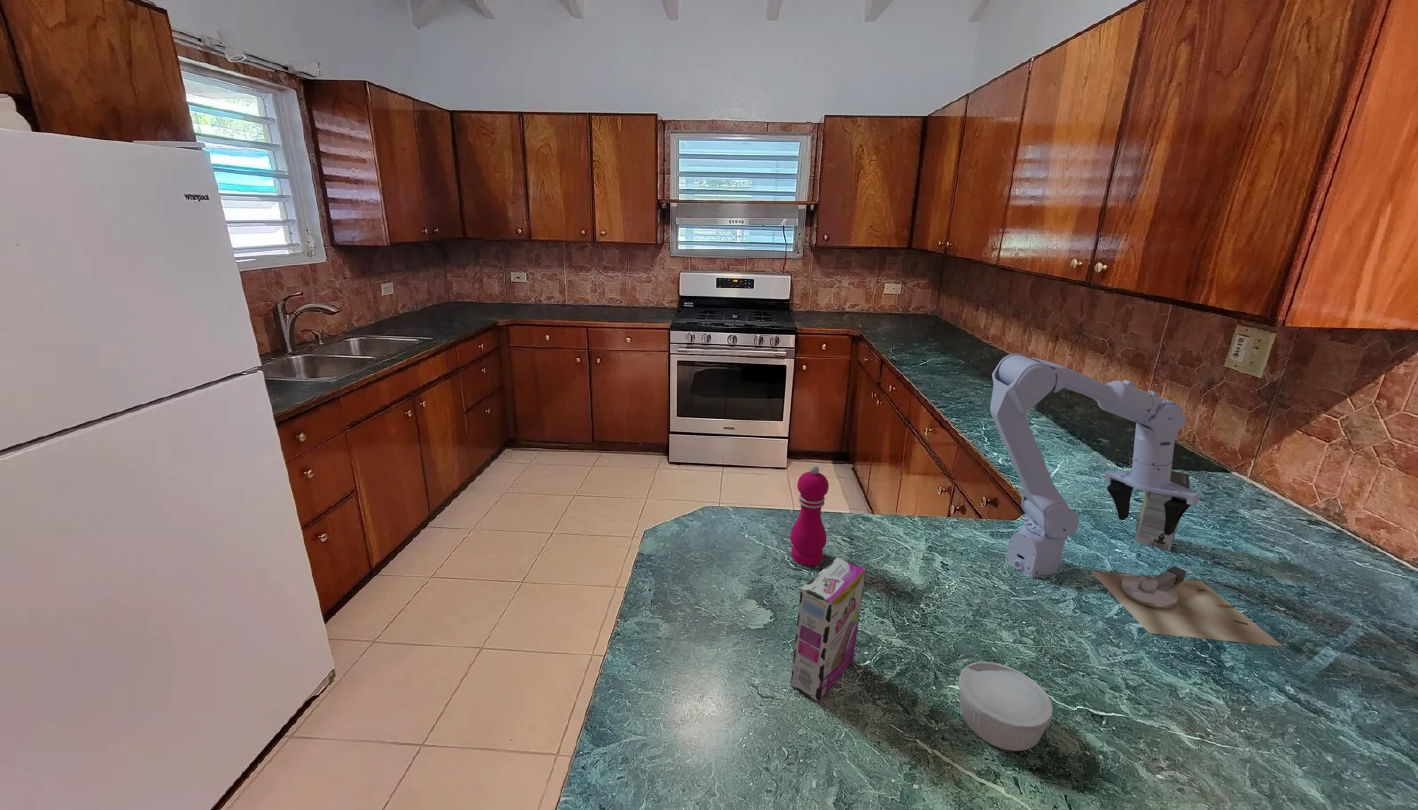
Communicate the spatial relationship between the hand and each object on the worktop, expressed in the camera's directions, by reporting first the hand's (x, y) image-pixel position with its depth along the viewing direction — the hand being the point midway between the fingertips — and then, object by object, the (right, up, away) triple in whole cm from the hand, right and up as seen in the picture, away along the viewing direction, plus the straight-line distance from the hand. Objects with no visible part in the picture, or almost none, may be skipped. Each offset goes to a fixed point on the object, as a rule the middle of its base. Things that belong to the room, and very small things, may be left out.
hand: (1145, 525), depth 107 cm
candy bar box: (-67, -17, -24) cm, 73 cm away
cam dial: (-1, -11, -4) cm, 12 cm away
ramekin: (-45, -20, -32) cm, 59 cm away
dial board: (-1, -14, -8) cm, 16 cm away
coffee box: (+13, -7, +15) cm, 22 cm away
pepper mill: (-64, -8, +6) cm, 65 cm away
